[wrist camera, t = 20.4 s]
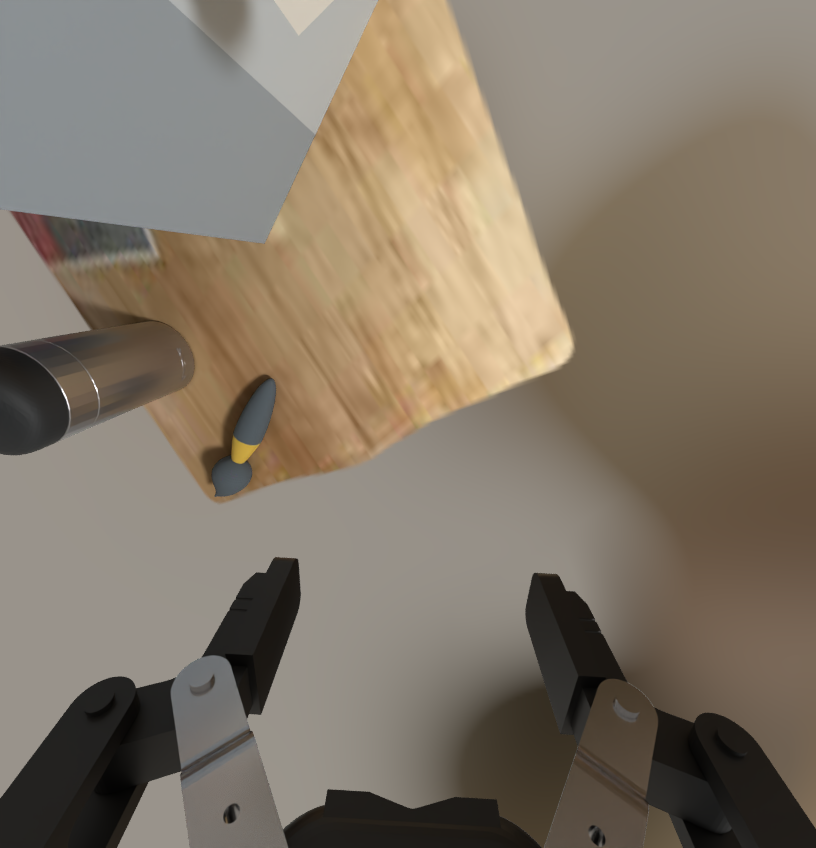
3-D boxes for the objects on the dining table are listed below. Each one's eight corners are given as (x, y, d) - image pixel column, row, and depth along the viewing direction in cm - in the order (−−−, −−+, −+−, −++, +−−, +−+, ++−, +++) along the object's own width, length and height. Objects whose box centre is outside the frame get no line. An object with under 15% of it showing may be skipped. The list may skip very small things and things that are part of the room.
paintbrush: (249, 364, 49) (227, 374, 44) (285, 380, 49) (267, 391, 44) (219, 483, 57) (197, 502, 52) (250, 496, 57) (231, 517, 52)
